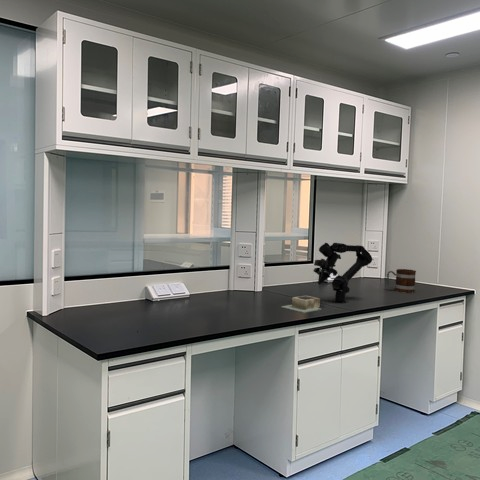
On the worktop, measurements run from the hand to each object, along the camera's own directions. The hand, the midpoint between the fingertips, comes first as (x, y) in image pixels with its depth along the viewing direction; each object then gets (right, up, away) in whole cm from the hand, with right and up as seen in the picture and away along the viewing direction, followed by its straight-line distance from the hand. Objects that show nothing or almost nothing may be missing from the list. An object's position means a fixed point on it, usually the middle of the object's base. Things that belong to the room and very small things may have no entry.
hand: (318, 283), depth 275 cm
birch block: (-5, -9, -7) cm, 12 cm away
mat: (-12, -12, -13) cm, 21 cm away
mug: (+67, -11, +58) cm, 89 cm away
